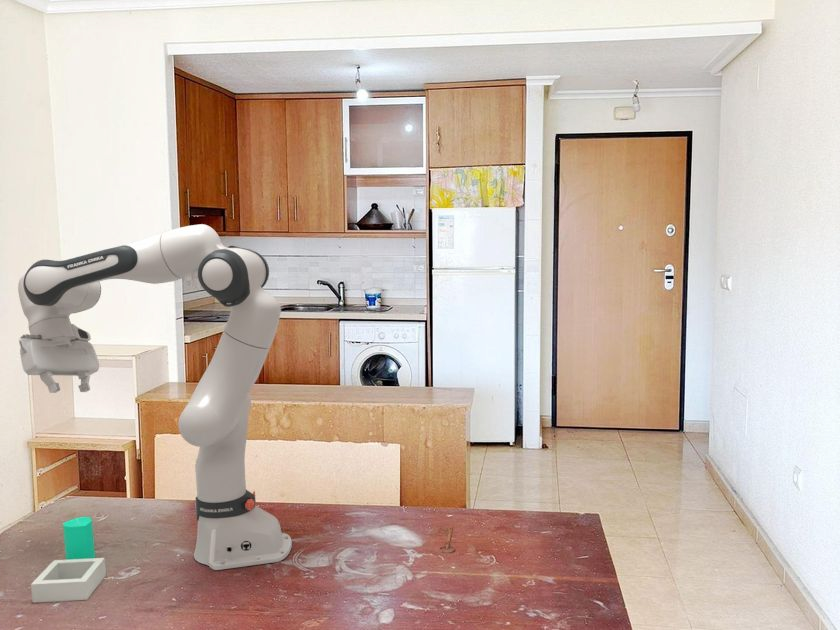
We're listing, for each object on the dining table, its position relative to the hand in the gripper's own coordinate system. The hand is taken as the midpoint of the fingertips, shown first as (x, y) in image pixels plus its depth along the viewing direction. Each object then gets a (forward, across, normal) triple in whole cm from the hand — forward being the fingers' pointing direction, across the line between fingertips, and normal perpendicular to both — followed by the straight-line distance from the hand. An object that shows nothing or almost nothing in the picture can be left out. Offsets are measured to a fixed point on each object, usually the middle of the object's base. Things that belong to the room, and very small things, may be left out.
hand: (70, 391), depth 169 cm
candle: (+37, +5, +15) cm, 40 cm away
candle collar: (+41, -5, +11) cm, 43 cm away
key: (+65, +36, -58) cm, 94 cm away
